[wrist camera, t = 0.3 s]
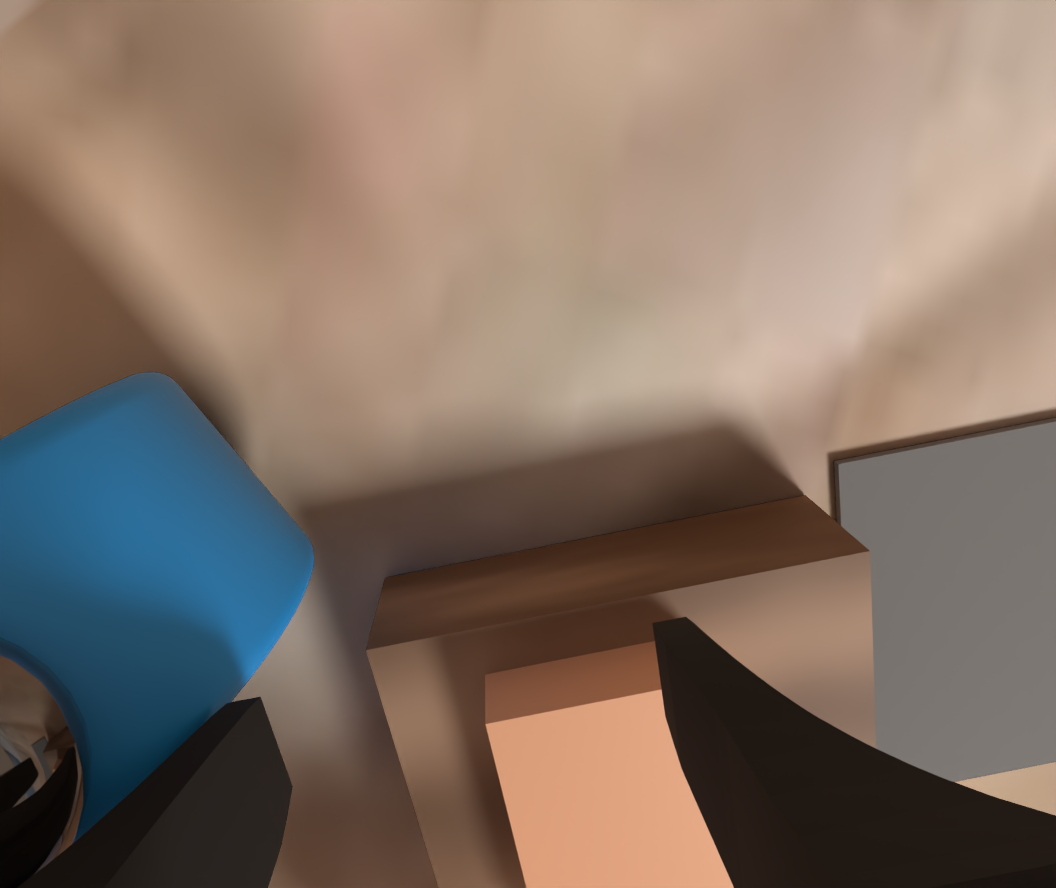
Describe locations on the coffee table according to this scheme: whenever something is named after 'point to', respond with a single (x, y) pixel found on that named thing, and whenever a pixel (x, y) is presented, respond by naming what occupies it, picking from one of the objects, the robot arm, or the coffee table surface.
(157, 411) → the alarm clock
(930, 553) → the mat
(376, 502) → the coffee table surface
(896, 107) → the coffee table surface
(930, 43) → the coffee table surface
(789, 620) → the tan flat block
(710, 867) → the peach rectangular block
